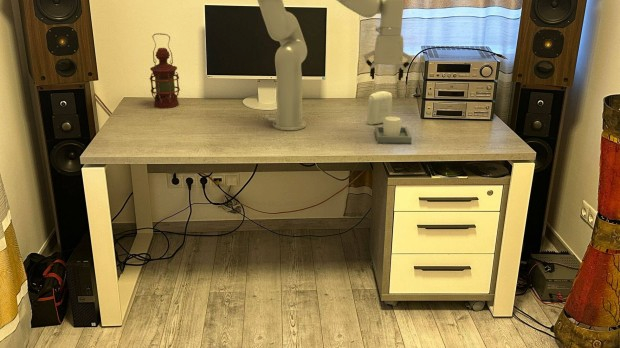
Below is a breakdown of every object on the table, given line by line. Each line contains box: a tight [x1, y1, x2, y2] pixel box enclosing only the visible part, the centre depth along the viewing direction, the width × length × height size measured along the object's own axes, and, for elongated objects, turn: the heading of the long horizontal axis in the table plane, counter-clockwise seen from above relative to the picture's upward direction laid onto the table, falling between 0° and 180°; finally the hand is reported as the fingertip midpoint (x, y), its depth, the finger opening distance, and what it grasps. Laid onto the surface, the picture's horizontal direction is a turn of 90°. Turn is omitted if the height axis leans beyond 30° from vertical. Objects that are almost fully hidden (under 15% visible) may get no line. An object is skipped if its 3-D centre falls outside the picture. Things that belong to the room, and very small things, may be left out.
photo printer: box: [366, 90, 393, 126], centre depth 248 cm, size 10×4×12 cm, turn 123°
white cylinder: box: [382, 115, 403, 136], centre depth 230 cm, size 7×7×7 cm
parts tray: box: [374, 126, 413, 145], centre depth 232 cm, size 12×12×2 cm
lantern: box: [149, 32, 181, 109], centre depth 264 cm, size 12×12×30 cm
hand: (386, 79), depth 230 cm, fingers open, 9 cm apart
